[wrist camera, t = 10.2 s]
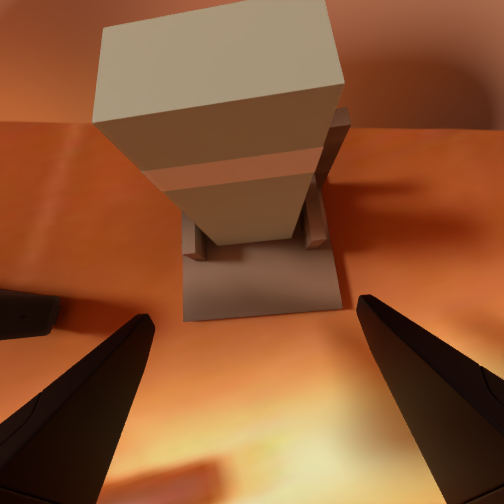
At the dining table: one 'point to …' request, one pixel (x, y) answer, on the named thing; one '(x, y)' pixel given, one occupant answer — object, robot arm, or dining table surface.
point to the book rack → (267, 259)
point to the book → (224, 109)
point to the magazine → (26, 314)
